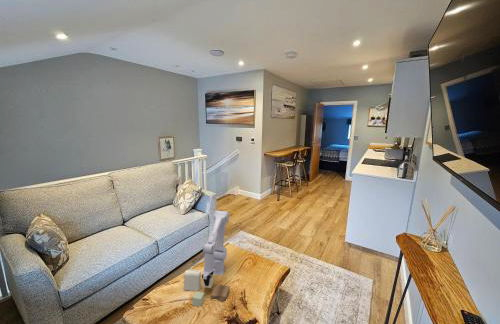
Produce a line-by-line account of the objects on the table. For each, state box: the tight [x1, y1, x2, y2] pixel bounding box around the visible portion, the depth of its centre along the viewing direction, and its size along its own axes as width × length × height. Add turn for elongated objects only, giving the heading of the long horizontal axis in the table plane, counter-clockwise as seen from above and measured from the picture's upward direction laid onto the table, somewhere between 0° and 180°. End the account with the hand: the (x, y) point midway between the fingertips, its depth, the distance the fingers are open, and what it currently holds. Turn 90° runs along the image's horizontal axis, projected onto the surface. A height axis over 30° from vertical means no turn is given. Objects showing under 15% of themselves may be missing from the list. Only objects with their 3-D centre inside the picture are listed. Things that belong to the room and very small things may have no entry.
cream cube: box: [202, 274, 215, 289], centre depth 127 cm, size 5×5×5 cm
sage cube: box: [191, 291, 205, 307], centre depth 116 cm, size 5×5×5 cm
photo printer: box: [183, 269, 202, 292], centre depth 127 cm, size 10×4×12 cm, turn 89°
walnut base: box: [210, 284, 231, 302], centre depth 123 cm, size 9×9×3 cm
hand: (208, 282), depth 127 cm, fingers closed on cream cube, 5 cm apart
